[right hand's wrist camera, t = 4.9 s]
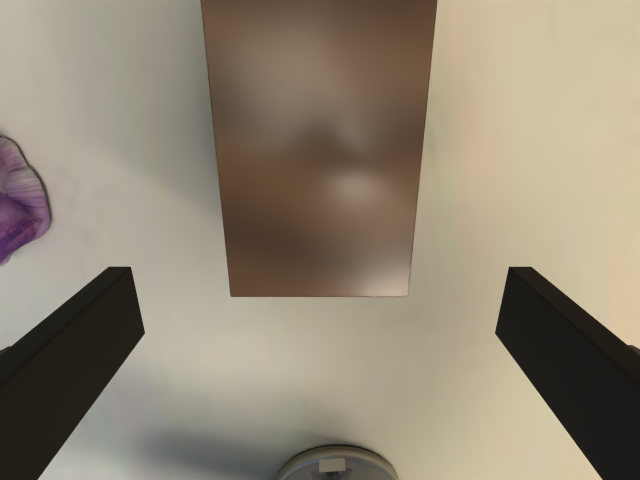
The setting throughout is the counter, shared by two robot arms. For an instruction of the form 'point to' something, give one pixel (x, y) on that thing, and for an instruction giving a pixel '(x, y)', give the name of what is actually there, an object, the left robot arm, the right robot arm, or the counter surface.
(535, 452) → the counter surface
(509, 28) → the counter surface
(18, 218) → the figurine
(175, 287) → the counter surface
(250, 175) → the cabinet
